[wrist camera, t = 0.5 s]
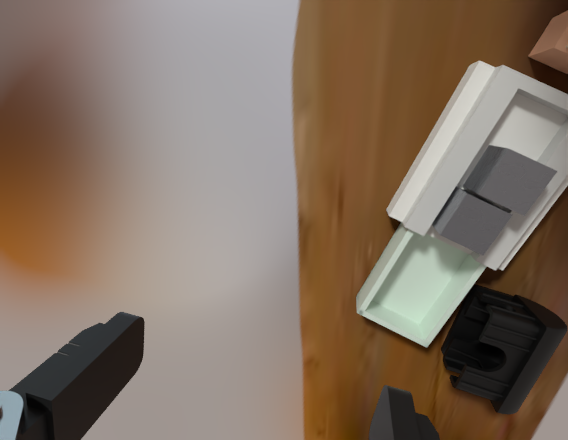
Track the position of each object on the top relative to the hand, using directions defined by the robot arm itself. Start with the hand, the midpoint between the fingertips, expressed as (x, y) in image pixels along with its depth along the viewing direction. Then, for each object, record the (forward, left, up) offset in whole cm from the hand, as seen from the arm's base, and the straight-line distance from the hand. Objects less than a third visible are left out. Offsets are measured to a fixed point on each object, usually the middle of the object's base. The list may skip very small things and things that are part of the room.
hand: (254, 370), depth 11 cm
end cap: (+5, +23, -27) cm, 36 cm away
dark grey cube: (-5, +12, -25) cm, 28 cm away
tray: (+4, +13, -27) cm, 30 cm away
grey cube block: (-9, +13, -25) cm, 29 cm away
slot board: (-9, +13, -27) cm, 31 cm away
